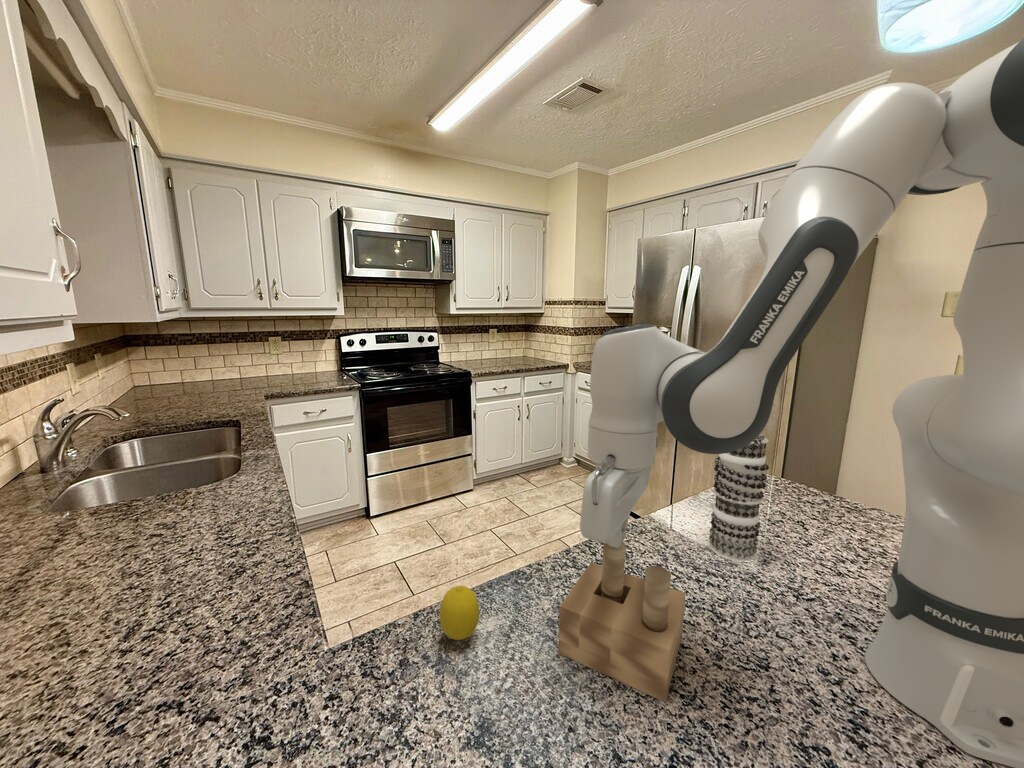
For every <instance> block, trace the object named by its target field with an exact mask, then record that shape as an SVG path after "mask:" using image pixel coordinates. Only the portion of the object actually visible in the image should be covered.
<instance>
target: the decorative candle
mask: <svg viewBox="0 0 1024 768" xmlns="http://www.w3.org/2000/svg"><path fill="white" fill-rule="evenodd" d="M768 442H769V439H768V438H767V437H765V436H764V434H763V432H761V433H760V435H759V436H758V437H757V438H756V439H755V440H754V441H752V442H751V443H750V444H748V445H747V446H745V447H743V448H741V449H739V450H736V451H733V452H729V453H724V454H717V456H716V457H715V460H714V463H715V464H714V468H713V470H714V471H715V474H714V478H713V479H714V480H713V481H714V483H713V486H712V487H713V488H714V489H713V492H714V494H715V503H714V504H713V511H712V513H710V514H711V515H710V516H711V520H710V524H711V527H710V528H709V534H710V535H709V536H708V539H709V543H708V546H709V545H710V548H711V549H712V550H713V551H714V552H715V553H716V554H718V555H720V556H721V557H724V558H726V559H725V560H727V559H729V560H728V561H730V560H734V561H739V562H740V561H741V562H745V561H751V560H754V559H755V558H756V559H757V552H758V551H757V550H758V549H759V548H758V545H759V539H758V538H757V537H759V534H760V531H759V529H760V528H761V523H760V522H759V521H760V511H759V510H760V504H762V502H763V500H764V497H765V495H764V494H765V493H764V492H763V491H761V490H762V489H765V488H766V486H767V483H765V482H764V481H766V480H767V479H768V476H767V475H766V474H765V473H764V472H765V471H768V470H770V466H769V465H768V464H767V463H766V462H767V461H768V460H767V455H766V452H767V451H766V449H767V443H768ZM710 548H709V549H710ZM716 554H715V555H716ZM718 555H717V556H718ZM720 556H719V557H720ZM721 557H720V558H721ZM724 558H723V559H724ZM756 559H755V560H756ZM739 562H738V563H739Z"/></svg>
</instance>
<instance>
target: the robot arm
mask: <svg viewBox="0 0 1024 768" xmlns="http://www.w3.org/2000/svg"><path fill="white" fill-rule="evenodd" d="M980 182H981V183H980ZM977 183H980V185H981V187H982V189H983V192H984V195H985V199H986V216H985V218H984V220H983V222H982V225H981V228H980V231H979V233H978V236H977V238H976V241H975V245H974V248H973V251H972V254H971V257H970V260H969V263H968V267H967V270H966V274H965V276H964V277H965V278H964V279H963V282H962V287H961V290H960V294H959V297H958V301H957V305H956V307H955V310H954V314H953V320H952V321H953V325H954V328H955V330H956V331H957V333H958V335H959V337H960V341H961V346H962V357H963V358H962V361H963V363H962V364H963V373H962V374H960V373H959V374H956V373H955V374H947V375H946V374H945V375H937V376H932V377H927V378H923V379H920V380H917V381H914V382H913V383H910V384H908V385H907V386H906V387H904V388H903V389H902V390H901V391H900V392H899V393H898V394H897V396H896V398H895V400H894V402H893V404H892V411H891V412H892V413H891V414H892V418H893V421H894V424H895V426H896V428H897V431H898V435H899V438H900V439H899V440H900V446H901V459H902V468H903V469H902V470H903V471H902V472H903V479H904V489H905V514H904V515H905V517H904V523H903V530H902V535H901V536H902V537H901V542H900V547H899V556H898V560H897V561H895V562H894V563H893V565H892V568H891V574H890V576H889V578H888V583H887V588H886V598H885V599H886V606H887V609H886V612H885V615H884V618H883V620H882V623H881V624H880V627H879V630H878V631H877V634H876V636H875V637H874V639H873V641H872V642H871V644H870V645H869V646H868V647H867V649H866V650H865V653H864V661H865V665H866V666H867V669H868V670H869V672H870V673H871V675H872V676H873V678H874V679H875V680H876V681H877V683H879V685H881V687H882V688H884V690H886V691H887V693H889V694H890V695H891V696H893V697H894V699H896V700H897V701H899V702H900V703H901V704H903V705H904V706H906V707H907V708H909V709H910V710H911V711H913V712H914V713H916V714H917V715H919V716H920V717H922V718H923V719H925V720H926V721H927V722H929V723H930V724H932V725H933V726H935V728H937V729H938V730H939V731H940V732H941V733H942V734H943V735H944V736H945V737H946V738H947V739H948V740H950V741H951V742H952V743H953V744H955V746H956V747H958V748H959V749H961V750H962V751H963V752H965V753H966V754H968V755H971V756H974V757H976V758H979V759H983V760H986V761H990V762H993V763H997V764H1001V765H1003V766H1006V767H1007V766H1008V767H1011V768H1024V38H1023V39H1020V41H1018V42H1016V43H1013V45H1010V46H1009V47H1006V48H1005V49H1003V50H1001V51H999V52H998V53H996V54H994V55H992V56H991V57H989V58H988V59H986V60H984V61H982V62H981V63H980V64H978V65H976V66H974V67H973V68H972V69H970V70H968V71H967V72H965V73H964V74H963V75H961V76H960V77H959V78H958V79H956V80H955V81H954V82H953V83H951V84H950V85H949V86H947V87H945V88H944V89H942V90H941V91H940V92H934V91H933V90H932V89H931V88H929V87H926V86H925V85H922V84H918V83H912V82H902V81H900V82H889V83H885V84H882V85H878V86H875V87H872V88H871V89H868V90H866V91H865V92H863V93H862V94H860V95H858V96H857V97H855V98H854V99H853V100H852V101H851V102H849V104H848V105H847V106H846V107H844V109H842V111H841V112H840V113H838V115H837V116H836V117H835V118H833V120H832V121H831V122H830V123H829V125H828V126H827V127H826V128H825V129H824V130H823V131H822V132H821V133H820V135H819V136H818V137H817V139H815V141H814V142H813V143H812V144H811V146H809V148H808V150H807V151H806V152H805V153H804V155H802V157H801V158H800V159H799V161H798V163H797V164H796V165H795V167H793V169H792V171H791V172H790V174H789V175H788V177H786V179H785V181H784V182H783V184H782V186H780V188H779V190H778V191H777V193H776V194H775V196H774V198H773V200H772V202H771V204H770V206H769V208H767V209H768V210H766V213H765V216H764V217H763V220H762V222H761V224H760V227H759V230H758V243H759V247H760V249H761V251H762V254H763V255H764V257H765V267H764V270H763V273H762V276H761V277H760V279H759V281H758V283H757V285H756V286H755V288H754V289H753V291H752V293H751V294H750V295H749V297H748V298H747V300H746V301H745V303H744V304H743V306H742V308H741V309H740V310H739V312H738V314H737V315H736V317H735V318H734V320H733V321H732V323H731V324H730V325H729V327H728V329H727V330H726V331H725V333H724V335H723V336H722V337H721V339H720V341H718V343H716V345H715V346H714V347H712V348H711V349H710V350H709V351H707V352H706V351H703V350H700V349H697V348H695V347H693V346H689V345H687V344H685V343H683V342H680V341H678V340H676V339H675V338H673V337H671V336H669V335H667V333H665V332H663V331H661V330H660V329H659V328H658V327H657V326H656V325H654V324H649V323H644V324H637V325H630V326H624V327H618V328H614V329H610V330H607V331H606V332H604V333H603V334H602V335H600V336H599V338H598V339H597V340H596V342H595V344H594V345H595V346H594V349H593V352H592V353H593V354H592V359H591V360H592V361H591V367H590V369H591V370H590V380H589V381H590V382H589V384H590V385H589V392H590V393H589V394H590V398H591V402H592V404H591V405H592V406H591V413H590V416H589V419H588V433H587V434H588V436H587V437H588V439H587V457H588V459H589V460H590V461H591V462H593V463H595V465H596V466H595V469H594V470H593V471H592V472H591V473H589V475H587V477H586V479H585V482H584V485H583V486H584V487H583V492H582V500H581V502H582V503H581V511H580V523H579V530H580V533H581V535H582V537H583V538H585V539H588V540H591V541H593V542H598V543H601V544H604V543H605V544H607V543H608V545H609V546H612V547H616V548H619V547H620V545H621V544H622V542H623V543H624V541H625V539H626V536H627V526H628V522H629V519H630V514H631V512H632V510H633V509H634V508H635V506H636V505H637V503H638V502H639V501H640V498H642V496H643V495H644V493H645V492H646V491H647V489H648V485H649V481H650V476H651V471H652V466H653V465H654V464H655V463H656V455H657V453H656V451H657V448H658V444H659V443H658V442H659V436H658V435H659V434H658V424H659V423H661V422H664V423H665V424H664V425H666V426H665V427H666V428H667V430H668V432H669V433H670V434H671V435H672V436H673V438H674V439H675V440H676V441H678V442H679V443H680V444H681V445H683V446H685V448H688V449H690V450H692V451H695V452H698V453H702V454H705V455H706V454H708V455H719V454H724V453H729V452H733V451H736V450H739V449H741V448H743V447H745V446H747V445H748V444H750V443H751V442H752V441H754V440H755V439H756V438H757V437H758V436H759V435H760V433H763V431H764V430H765V428H766V426H767V424H768V422H769V420H770V417H771V413H772V410H773V405H774V401H775V396H776V392H777V388H778V385H779V382H780V380H781V378H782V375H783V373H784V372H785V369H786V368H787V366H788V365H789V364H790V363H791V360H792V359H793V357H794V356H795V355H796V353H797V352H798V351H799V348H800V347H801V346H802V344H803V343H804V341H805V340H806V339H807V337H808V335H809V333H810V332H812V331H811V330H812V329H813V327H815V325H816V324H817V322H818V320H819V319H820V318H821V316H822V315H823V313H824V312H825V310H826V309H827V307H828V306H829V304H830V302H831V301H832V300H833V298H834V296H835V295H836V293H837V292H838V291H839V289H840V287H841V286H842V284H843V282H844V281H845V279H846V277H847V276H848V273H849V271H850V270H851V269H852V267H853V266H854V264H855V263H856V261H857V260H858V258H859V257H860V256H861V255H862V253H863V252H864V251H865V250H866V249H867V248H868V246H869V245H870V243H871V242H872V241H873V239H874V238H875V237H876V236H877V235H878V233H879V232H880V231H881V229H883V227H884V226H885V225H886V223H887V222H888V220H890V217H891V216H892V215H893V214H894V212H895V211H897V209H898V207H899V206H900V204H901V203H902V202H903V200H904V199H905V198H906V196H907V195H911V196H912V195H915V196H930V195H939V194H945V193H949V192H952V191H956V190H957V189H960V188H962V187H965V186H969V185H973V184H977Z"/></svg>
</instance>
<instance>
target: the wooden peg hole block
mask: <svg viewBox="0 0 1024 768" xmlns="http://www.w3.org/2000/svg"><path fill="white" fill-rule="evenodd" d="M644 573H645V574H644V579H643V578H640V577H637V576H634V575H631V574H628V573H625V572H624V583H623V601H622V604H620V603H617V602H615V601H612V600H609V599H606V598H604V597H601V585H602V565H599V564H596V563H594V562H589V564H588V566H587V567H586V569H585V570H584V572H583V573H582V574H581V576H580V577H579V579H578V580H577V582H576V583H575V584H574V586H573V587H572V588H571V590H570V591H569V593H568V594H567V595H566V597H565V599H563V601H562V603H561V604H560V606H559V617H558V618H559V619H558V645H557V648H558V649H557V653H558V654H559V655H561V656H564V657H566V658H568V659H570V660H572V661H575V662H577V663H579V664H581V665H583V666H585V667H588V668H590V669H592V670H594V671H596V672H598V673H600V674H602V675H605V676H606V677H609V678H611V679H614V680H615V681H617V682H619V683H622V684H625V685H626V686H629V687H631V688H633V689H635V690H637V691H639V692H642V693H644V694H646V695H648V696H651V697H653V698H655V699H657V700H659V701H661V702H664V703H667V699H668V694H669V690H670V687H671V682H672V678H673V674H674V669H675V667H676V666H675V665H676V662H677V658H678V653H679V649H680V646H681V642H682V639H683V638H682V636H683V627H684V626H683V625H684V613H685V601H686V592H683V591H680V590H677V589H673V588H672V587H671V581H672V580H671V579H672V573H671V572H670V570H668V569H666V568H665V567H663V566H659V565H649V566H647V567H645V572H644Z"/></svg>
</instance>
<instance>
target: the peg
mask: <svg viewBox="0 0 1024 768" xmlns="http://www.w3.org/2000/svg"><path fill="white" fill-rule="evenodd" d="M602 544H603V547H602V549H603V550H602V565H601V566H602V585H601V597H604V598H606V599H609V600H612V601H615V602H617V603H620V604H622V601H623V583H624V573H625V565H626V564H625V561H626V543H624V541H623V542H622V544H621V545H620V547H619V548H616V547H612V546H609V545H608V543H607V544H605V543H602Z"/></svg>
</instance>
